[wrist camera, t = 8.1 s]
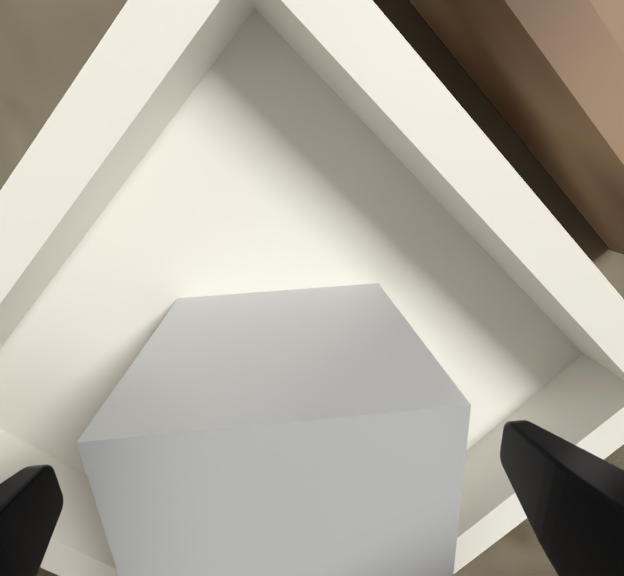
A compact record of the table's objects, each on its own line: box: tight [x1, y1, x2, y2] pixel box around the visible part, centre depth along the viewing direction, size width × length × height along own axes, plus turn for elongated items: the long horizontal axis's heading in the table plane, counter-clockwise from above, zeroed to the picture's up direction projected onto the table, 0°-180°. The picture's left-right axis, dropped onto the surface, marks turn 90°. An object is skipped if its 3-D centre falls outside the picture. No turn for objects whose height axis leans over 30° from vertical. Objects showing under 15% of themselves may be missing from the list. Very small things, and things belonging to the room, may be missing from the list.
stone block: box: [76, 283, 471, 576], centre depth 8 cm, size 5×5×5 cm
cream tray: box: [0, 0, 624, 576], centre depth 10 cm, size 14×14×2 cm
